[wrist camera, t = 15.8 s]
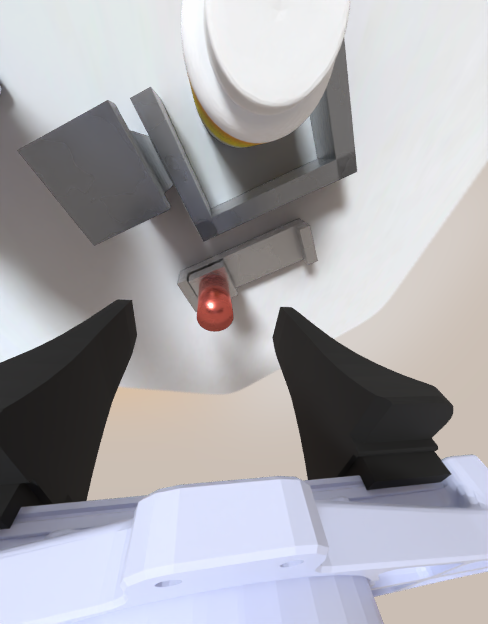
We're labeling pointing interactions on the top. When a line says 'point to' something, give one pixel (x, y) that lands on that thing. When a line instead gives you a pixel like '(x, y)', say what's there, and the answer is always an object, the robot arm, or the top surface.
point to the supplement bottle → (259, 63)
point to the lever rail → (258, 257)
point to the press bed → (174, 166)
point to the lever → (214, 296)
